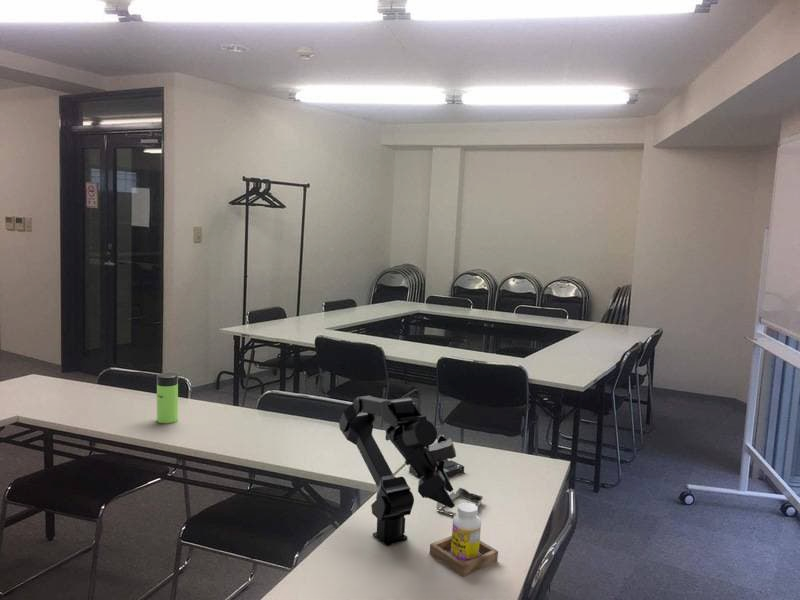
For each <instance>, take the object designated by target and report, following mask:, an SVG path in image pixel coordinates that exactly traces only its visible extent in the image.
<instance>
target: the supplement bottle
mask: <svg viewBox="0 0 800 600" xmlns="http://www.w3.org/2000/svg"><path fill="white" fill-rule="evenodd" d="M478 510H479V506H478V507H477V506H476V503H475V504H474V503H471V502H462V503H459V504H458V505H457V512H458V513H456V515H455V516H453V518H452V526H451V528H452V530H451V536H452V542H451V548H450V554H451V555H453V556H454V557H456V558H457V559H459V560H460V561H462V562H463V563H464V562H467V561H469V560H471V559H474V558H476V557H478V556H480V553H479V545H480V541H481V529H482V528H481V526H482V520H481V518H480V517H479V516H478Z"/></svg>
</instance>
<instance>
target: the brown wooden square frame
mask: <svg viewBox="0 0 800 600" xmlns="http://www.w3.org/2000/svg"><path fill="white" fill-rule="evenodd" d="M451 542H452V535H450V536H447V537H445V538H442V539H439V540H438V541H435V542H431V543H430V545H429V555H431V556H432V557H434V558H435V559H436V560H438V561H439V562H441V563H442V564H444V565H445V566H447V567H448V568H450V569H451V570H452V571H454V572H455V573H457V574H458V575H460V576H461V577H465V576H467V575H470V574H471V573H473V572H476V571H479V570H481V569H483V568H485V567H487V566H489V565H491V564H493V563H496V562H498V558H499V556H498V555H499V551H498V550H497V549H495V548H493V547H492V546H490V545H489V544H487V543H485V542H484V541H482V540H480V545H479V556H478V557H476V558H474V559H471V560H469V561H467V562H464V563H463V562H462V561H460V560H459V559H457V558H456V557H454V556H453V555H451V553H449V552H448V550H451Z"/></svg>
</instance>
